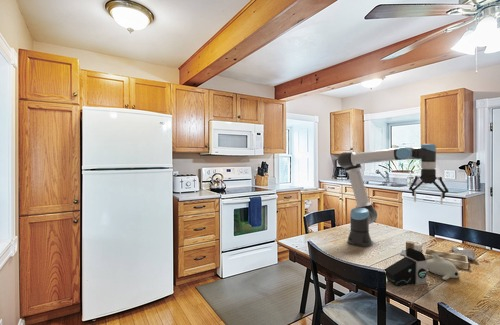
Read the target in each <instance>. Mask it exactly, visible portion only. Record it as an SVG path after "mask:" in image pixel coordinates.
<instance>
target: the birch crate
mask: <svg viewBox="0 0 500 325" xmlns="http://www.w3.org/2000/svg"><path fill="white" fill-rule="evenodd" d="M433 253H434V254H436V255H438V256H439V257H440V258H443V259H444V260H448V261H450V262H452V263H453V264H454V266H455V267H456V268H459V269H465V270H469V260H468V258H467V256H464V255H458V254H453V253H452V252H446V251H442V250H436V249H430V248H424V251H423V255H424V256H425V259H426V260H429V259H433V258H434V256H433Z"/></svg>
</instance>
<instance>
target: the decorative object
mask: <svg viewBox="0 0 500 325" xmlns="http://www.w3.org/2000/svg"><path fill="white" fill-rule="evenodd" d="M423 254H424V252H422V251H421V252H420V251H417V250H415V249H412V248H410V247H409V248H408V249H407V254H406V256H403V258H401V259H400V260H397V261H396V262H395V263H392V264H391V265H389V266H388V267H385V268H384V269H383V271H384V270H385V271H386V275H385V277H386V280H387V282H389V283H391V284H392V285H394V286H395V287H404V286H412V285H417V286H418V285H423V284H424V285H425V284H427V282H428V281H427V278H428V276H427V275H428V272H427V271H428V270H427V260H426V259H425V256H424V255H423Z"/></svg>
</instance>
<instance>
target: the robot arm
mask: <svg viewBox="0 0 500 325" xmlns="http://www.w3.org/2000/svg"><path fill="white" fill-rule="evenodd" d="M436 148H437V146H436V144H434V143H422V144H421V146H420V147H407V146H401V147H397V148H388V149H387V148H386V149H381V150H372V151H363V152H354V151H344V152H342V153H339V155H338V156H337V160H336V161H337V165H338V166H340V167H341V168H344V171H345V173H347V175H348V178H349V181H350V185H351V189H352V191H353V195H354V198H355V203H356V205H355V207H354V208H351V209H350V221H349V222H350V231H349V234H348V237H347V242H348V243H349V244H350V245H353V246H356V247H362V248H364V247H370V246H372V243H373V242H372V239H371V236H370V231H369V230H370V228H369V227H370V225H371V224H373V223H374V222H376V220H377V218H378V211H377V210H376V209H375V208H374V206H373V203H371V202H370V201H369V198H368V197H369V196H368V193H367V190H366V185H365V183H364V180H363V177H362V173H361V170H362V165H361V164H369V163H372V164H373V163H380V162H381V163H382V162H383V163H385V162H392V161H404V160H420V168H421V169H420V176H419V175H415V177H414V180H413V181H412V183H411V185H410V187H409V188H408V190H409V191H411V193H412V194H411V195H412V197H413V201H414V203H416V201H417V191H416V190H417V189H418V188H420V186H421V185H422V184H423V183H424V184H430V185H431V184H433V185H434V186H435V187H436V188H437V189H438V190H439V191H440V205H443V199H445V198H446V197H445V196H446V194H447V193H449V189H448V188H447V186H446V184H445V183H444V181H443V177H442V176H436V174H437V172H436V171H437V170H436V168H437V150H436ZM419 179H420V180H421V181H420V182H419V183H418V184H417V185H416V183H417V181H418V180H419ZM436 180H437V181H439V182H440V184H441V186H442V187H443V188H442V187H441V186H440V185H439V184H438V183H437V182H436ZM414 185H416V186H415V187H414Z"/></svg>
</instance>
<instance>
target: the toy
mask: <svg viewBox="0 0 500 325" xmlns="http://www.w3.org/2000/svg"><path fill="white" fill-rule="evenodd" d="M433 256H434V258H433V259H429V260H427V271H429V272H430V273H432V274H434V275H439V276H440V277H441V278H442V280H444V281H446V280H449V279H458V278H459V277H460V276H459V275H460V273H459V272H458V271H459V270H458V269H457V267H455V266H454V264H453V263H452V262H450V261H448V260H444V259H443V258H440V257H439V256H438V255H436V254H434V253H433Z"/></svg>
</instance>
